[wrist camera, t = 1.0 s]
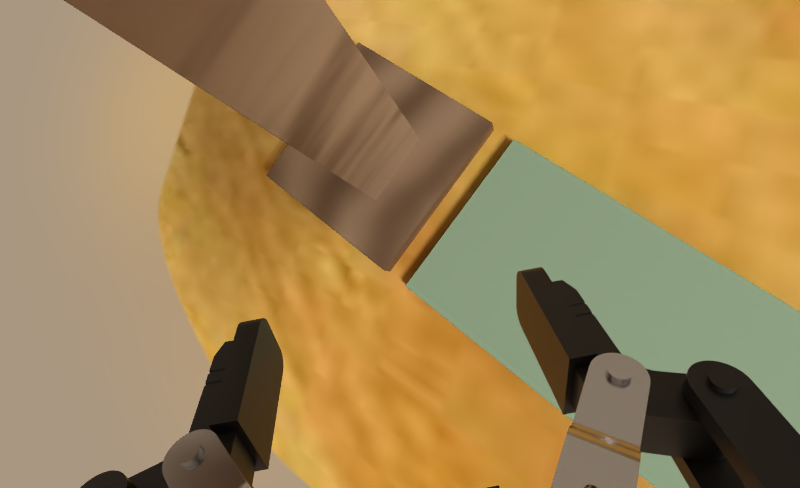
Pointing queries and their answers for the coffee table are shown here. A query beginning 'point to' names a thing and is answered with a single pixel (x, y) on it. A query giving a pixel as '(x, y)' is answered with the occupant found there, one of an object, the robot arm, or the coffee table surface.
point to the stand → (316, 108)
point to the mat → (604, 287)
